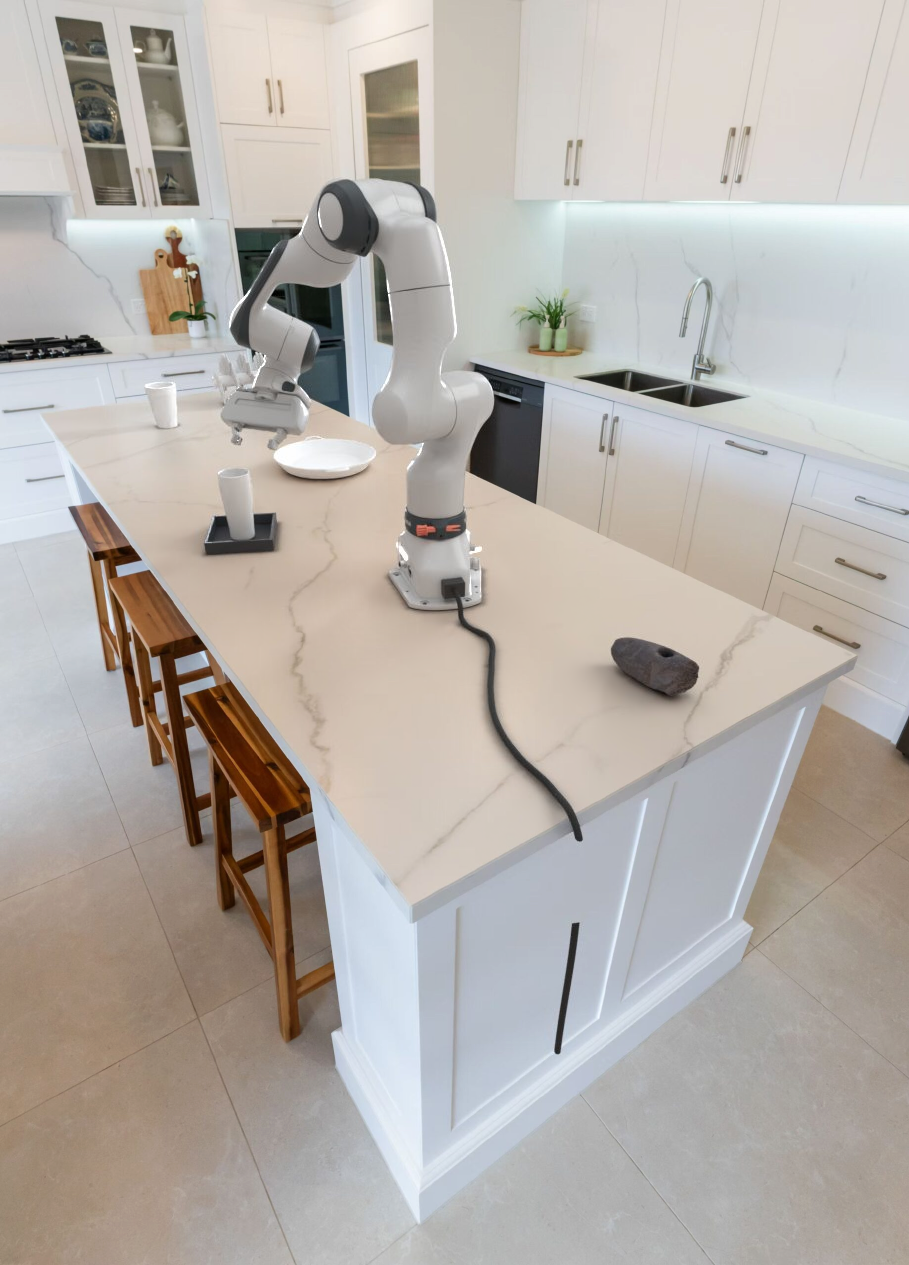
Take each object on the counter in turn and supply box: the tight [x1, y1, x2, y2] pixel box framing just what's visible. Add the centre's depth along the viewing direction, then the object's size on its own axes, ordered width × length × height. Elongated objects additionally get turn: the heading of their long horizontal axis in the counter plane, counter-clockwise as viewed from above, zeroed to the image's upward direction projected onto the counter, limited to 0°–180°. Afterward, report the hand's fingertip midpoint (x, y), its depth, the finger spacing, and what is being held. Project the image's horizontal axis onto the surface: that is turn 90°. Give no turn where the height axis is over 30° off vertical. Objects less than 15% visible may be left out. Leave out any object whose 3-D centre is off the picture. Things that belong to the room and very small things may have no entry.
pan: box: [272, 435, 377, 480], centre depth 207 cm, size 34×28×4 cm
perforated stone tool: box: [610, 636, 700, 697], centre depth 116 cm, size 15×5×7 cm, turn 40°
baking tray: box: [203, 512, 278, 556], centre depth 164 cm, size 16×14×3 cm
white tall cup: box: [217, 467, 255, 541], centre depth 160 cm, size 7×7×15 cm
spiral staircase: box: [211, 350, 264, 405], centre depth 267 cm, size 18×18×25 cm
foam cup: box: [144, 381, 178, 429], centre depth 239 cm, size 10×9×13 cm
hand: (253, 446), depth 161 cm, fingers open, 8 cm apart
